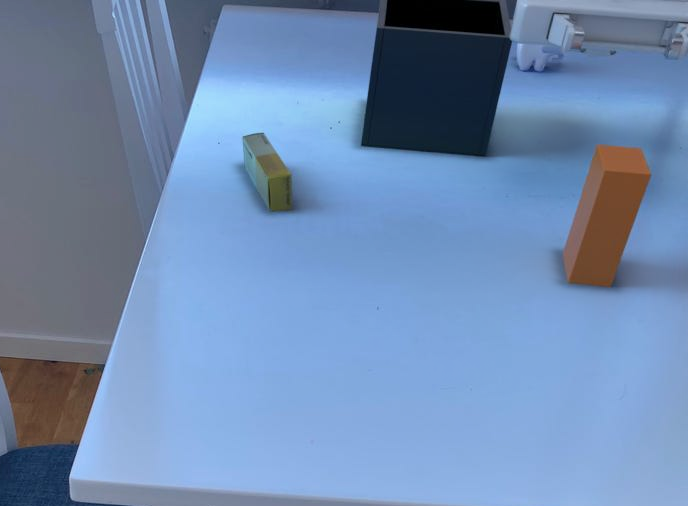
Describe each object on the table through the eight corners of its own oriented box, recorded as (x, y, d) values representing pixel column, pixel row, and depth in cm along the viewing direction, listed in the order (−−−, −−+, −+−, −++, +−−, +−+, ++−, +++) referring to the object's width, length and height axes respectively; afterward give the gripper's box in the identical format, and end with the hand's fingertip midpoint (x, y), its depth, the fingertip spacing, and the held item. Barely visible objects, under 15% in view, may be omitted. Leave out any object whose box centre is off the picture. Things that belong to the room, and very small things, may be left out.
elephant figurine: (566, 78, 131) (579, 29, 127) (508, 75, 131) (519, 26, 127) (558, 62, 135) (571, 14, 131) (502, 59, 136) (513, 11, 131)
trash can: (479, 117, 120) (505, 0, 111) (484, 162, 110) (513, 38, 101) (365, 108, 121) (381, -9, 112) (359, 151, 112) (376, 27, 102)
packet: (601, 264, 94) (641, 147, 86) (608, 293, 90) (651, 174, 82) (560, 260, 94) (596, 144, 86) (566, 289, 90) (604, 170, 82)
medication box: (242, 172, 107) (241, 134, 104) (266, 168, 107) (264, 130, 104) (269, 215, 99) (267, 176, 96) (293, 211, 99) (293, 172, 96)
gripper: (699, 47, 99) (726, 92, 89) (501, 32, 100) (508, 75, 91) (725, -25, 94) (756, 15, 85) (517, -40, 96) (526, -2, 87)
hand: (626, 46), depth 88 cm, fingers open, 8 cm apart
